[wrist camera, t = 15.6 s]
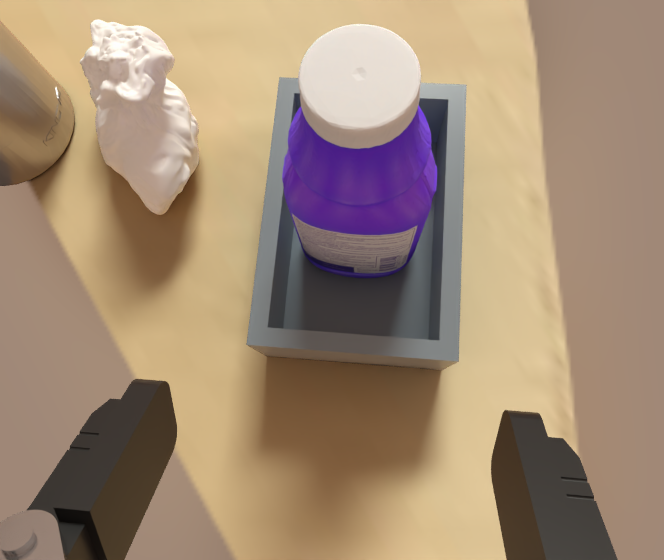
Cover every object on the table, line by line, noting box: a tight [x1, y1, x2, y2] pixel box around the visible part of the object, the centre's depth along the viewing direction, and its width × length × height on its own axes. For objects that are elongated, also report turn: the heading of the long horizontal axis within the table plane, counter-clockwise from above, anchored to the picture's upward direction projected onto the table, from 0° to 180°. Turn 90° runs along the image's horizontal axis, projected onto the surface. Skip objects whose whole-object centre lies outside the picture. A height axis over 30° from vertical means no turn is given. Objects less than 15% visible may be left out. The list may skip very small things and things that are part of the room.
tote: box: [247, 77, 466, 370], centre depth 32 cm, size 11×16×6 cm
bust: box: [80, 20, 199, 215], centre depth 33 cm, size 12×8×11 cm
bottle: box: [282, 24, 437, 278], centre depth 26 cm, size 7×6×17 cm
